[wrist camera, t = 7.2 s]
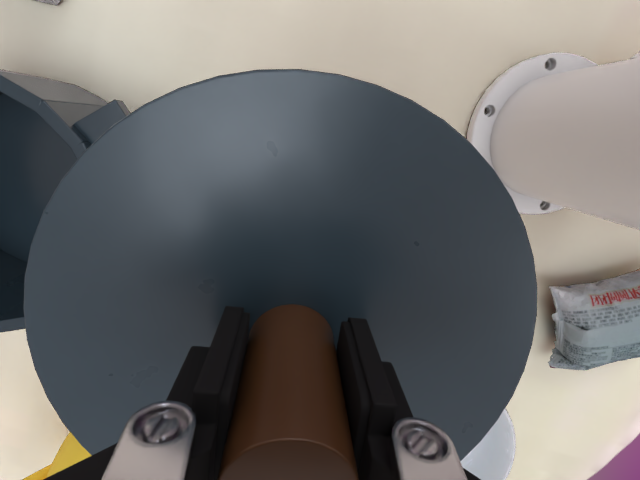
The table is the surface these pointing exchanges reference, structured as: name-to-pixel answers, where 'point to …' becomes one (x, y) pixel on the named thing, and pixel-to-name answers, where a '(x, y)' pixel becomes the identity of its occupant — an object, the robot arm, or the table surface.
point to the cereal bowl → (493, 451)
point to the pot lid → (281, 266)
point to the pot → (38, 165)
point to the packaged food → (596, 322)
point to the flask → (50, 1)
